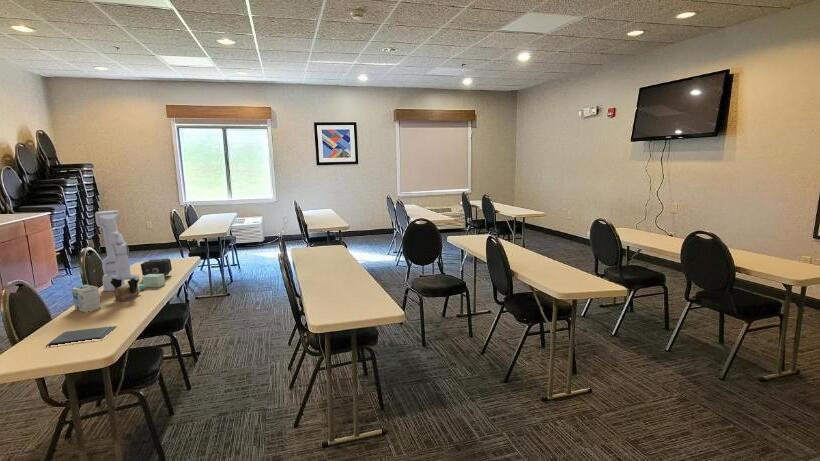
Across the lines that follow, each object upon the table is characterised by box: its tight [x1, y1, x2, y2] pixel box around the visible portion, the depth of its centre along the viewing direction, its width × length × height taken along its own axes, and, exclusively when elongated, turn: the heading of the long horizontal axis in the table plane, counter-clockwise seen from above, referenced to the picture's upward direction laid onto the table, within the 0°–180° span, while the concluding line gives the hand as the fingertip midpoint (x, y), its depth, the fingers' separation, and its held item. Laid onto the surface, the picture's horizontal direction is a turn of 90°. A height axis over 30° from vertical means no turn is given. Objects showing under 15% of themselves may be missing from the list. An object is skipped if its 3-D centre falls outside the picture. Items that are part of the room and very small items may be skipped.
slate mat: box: [113, 294, 141, 302], centre depth 211 cm, size 8×8×1 cm
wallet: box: [45, 325, 118, 347], centre depth 166 cm, size 20×2×15 cm
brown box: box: [114, 283, 140, 300], centre depth 211 cm, size 5×9×6 cm, turn 175°
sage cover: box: [142, 274, 166, 288], centre depth 231 cm, size 5×9×6 cm, turn 85°
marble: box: [138, 284, 146, 291], centre depth 224 cm, size 3×3×3 cm
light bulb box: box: [71, 284, 102, 313], centre depth 196 cm, size 11×7×11 cm, turn 62°
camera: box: [140, 258, 173, 277], centre depth 247 cm, size 11×11×15 cm
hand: (126, 293), depth 211 cm, fingers open, 7 cm apart
